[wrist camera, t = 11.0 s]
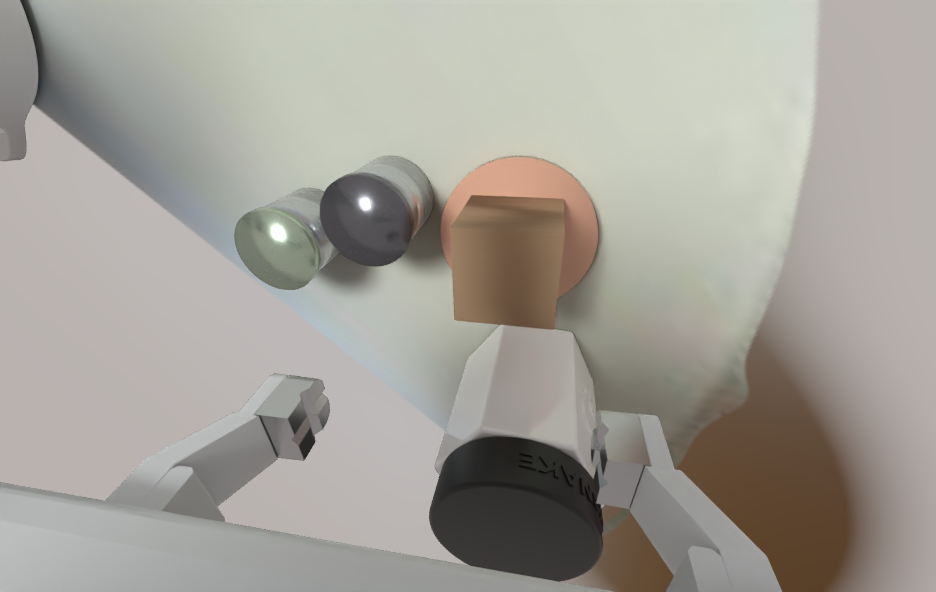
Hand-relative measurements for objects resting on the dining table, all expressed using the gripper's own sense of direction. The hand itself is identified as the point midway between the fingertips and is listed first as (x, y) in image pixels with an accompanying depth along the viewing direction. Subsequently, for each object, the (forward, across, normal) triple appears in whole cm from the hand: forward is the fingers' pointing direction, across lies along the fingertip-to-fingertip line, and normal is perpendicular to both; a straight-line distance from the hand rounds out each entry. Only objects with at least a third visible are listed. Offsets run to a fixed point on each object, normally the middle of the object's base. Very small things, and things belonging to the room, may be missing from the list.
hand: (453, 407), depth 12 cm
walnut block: (+13, -1, 0) cm, 13 cm away
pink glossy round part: (+14, -1, 0) cm, 14 cm away
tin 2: (+14, +6, -2) cm, 16 cm away
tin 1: (+14, +12, 0) cm, 19 cm away
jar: (+14, -2, +11) cm, 18 cm away
